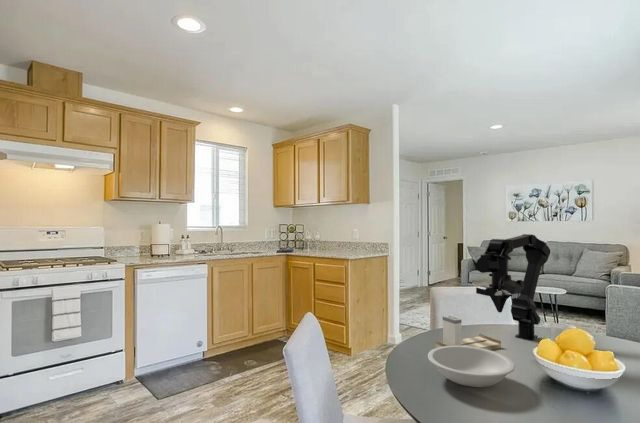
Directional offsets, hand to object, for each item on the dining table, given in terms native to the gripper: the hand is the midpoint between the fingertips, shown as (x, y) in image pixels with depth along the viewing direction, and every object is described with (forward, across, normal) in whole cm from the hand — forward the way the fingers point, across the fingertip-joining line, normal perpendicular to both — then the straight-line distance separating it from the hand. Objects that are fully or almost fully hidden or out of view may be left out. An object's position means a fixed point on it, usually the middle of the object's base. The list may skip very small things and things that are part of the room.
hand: (499, 312), depth 146 cm
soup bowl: (+13, -35, -21) cm, 43 cm away
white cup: (+12, +11, -17) cm, 24 cm away
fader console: (+12, -14, +1) cm, 19 cm away
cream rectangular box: (+11, -22, +1) cm, 25 cm away
